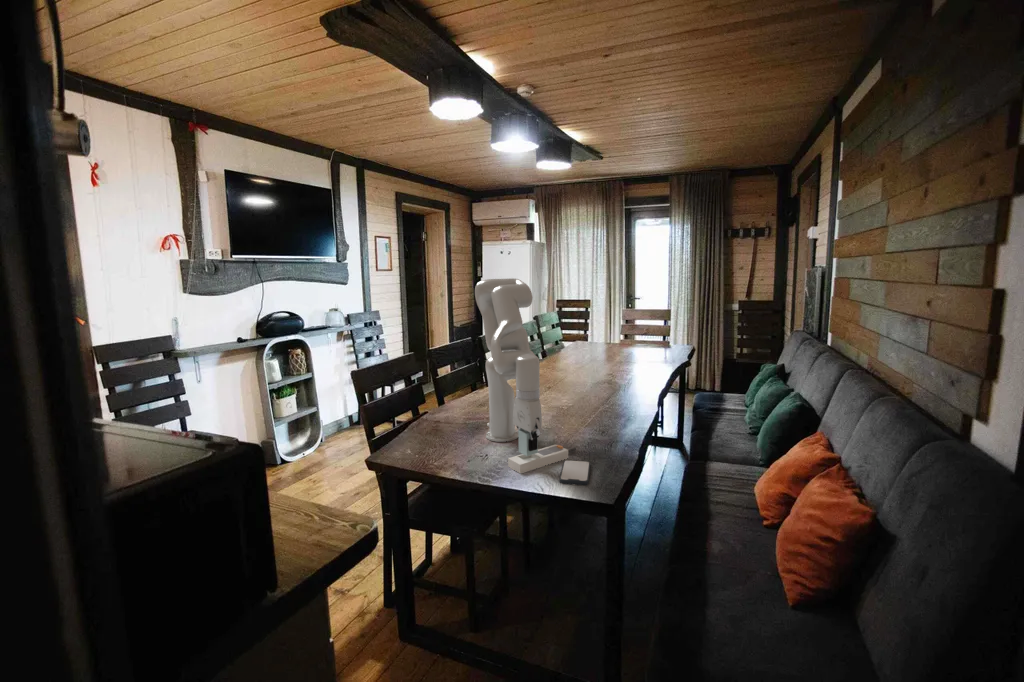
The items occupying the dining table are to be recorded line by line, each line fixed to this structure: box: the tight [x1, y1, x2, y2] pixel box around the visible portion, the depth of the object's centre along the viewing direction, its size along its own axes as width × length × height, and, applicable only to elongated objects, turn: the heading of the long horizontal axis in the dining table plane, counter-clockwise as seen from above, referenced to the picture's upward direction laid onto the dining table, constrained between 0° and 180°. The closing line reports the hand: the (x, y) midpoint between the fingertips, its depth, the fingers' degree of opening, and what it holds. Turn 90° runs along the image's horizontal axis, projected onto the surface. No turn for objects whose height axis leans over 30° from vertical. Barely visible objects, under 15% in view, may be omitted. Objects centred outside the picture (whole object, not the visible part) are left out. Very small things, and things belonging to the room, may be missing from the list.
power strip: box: [507, 444, 577, 474], centre depth 166 cm, size 6×26×4 cm, turn 124°
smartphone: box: [559, 459, 591, 486], centre depth 156 cm, size 9×2×16 cm
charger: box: [517, 429, 539, 456], centre depth 162 cm, size 4×4×8 cm
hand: (528, 446), depth 162 cm, fingers closed on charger, 4 cm apart
